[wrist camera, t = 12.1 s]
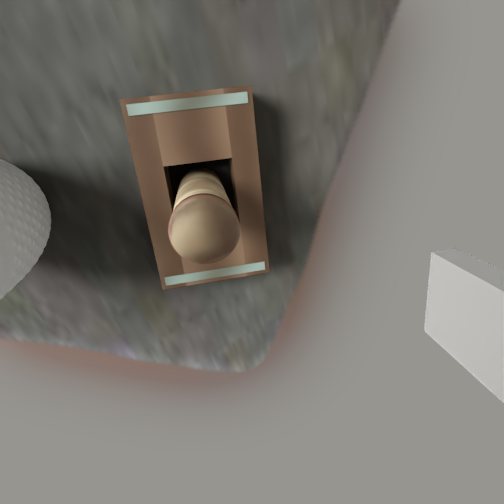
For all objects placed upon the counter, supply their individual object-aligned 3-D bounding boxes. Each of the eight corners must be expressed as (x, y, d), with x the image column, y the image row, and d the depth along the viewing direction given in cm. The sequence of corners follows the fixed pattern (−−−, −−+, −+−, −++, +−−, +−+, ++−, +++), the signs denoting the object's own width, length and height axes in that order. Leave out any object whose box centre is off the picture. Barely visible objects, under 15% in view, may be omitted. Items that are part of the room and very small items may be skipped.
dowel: (183, 212, 33) (175, 269, 20) (175, 169, 32) (161, 201, 19) (225, 206, 34) (244, 258, 21) (219, 163, 32) (235, 191, 19)
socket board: (166, 272, 35) (162, 290, 31) (129, 102, 29) (119, 99, 25) (262, 257, 36) (269, 272, 32) (244, 90, 30) (251, 85, 26)
